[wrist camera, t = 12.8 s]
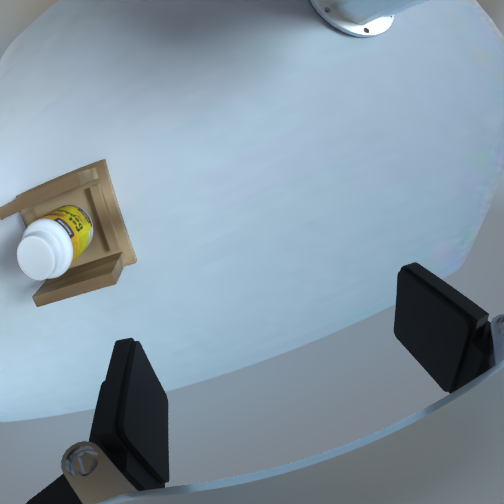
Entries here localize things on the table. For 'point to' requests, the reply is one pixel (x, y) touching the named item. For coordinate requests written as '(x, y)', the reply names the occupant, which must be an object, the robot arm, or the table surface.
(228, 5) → the table surface
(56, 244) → the supplement bottle
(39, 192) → the holder
